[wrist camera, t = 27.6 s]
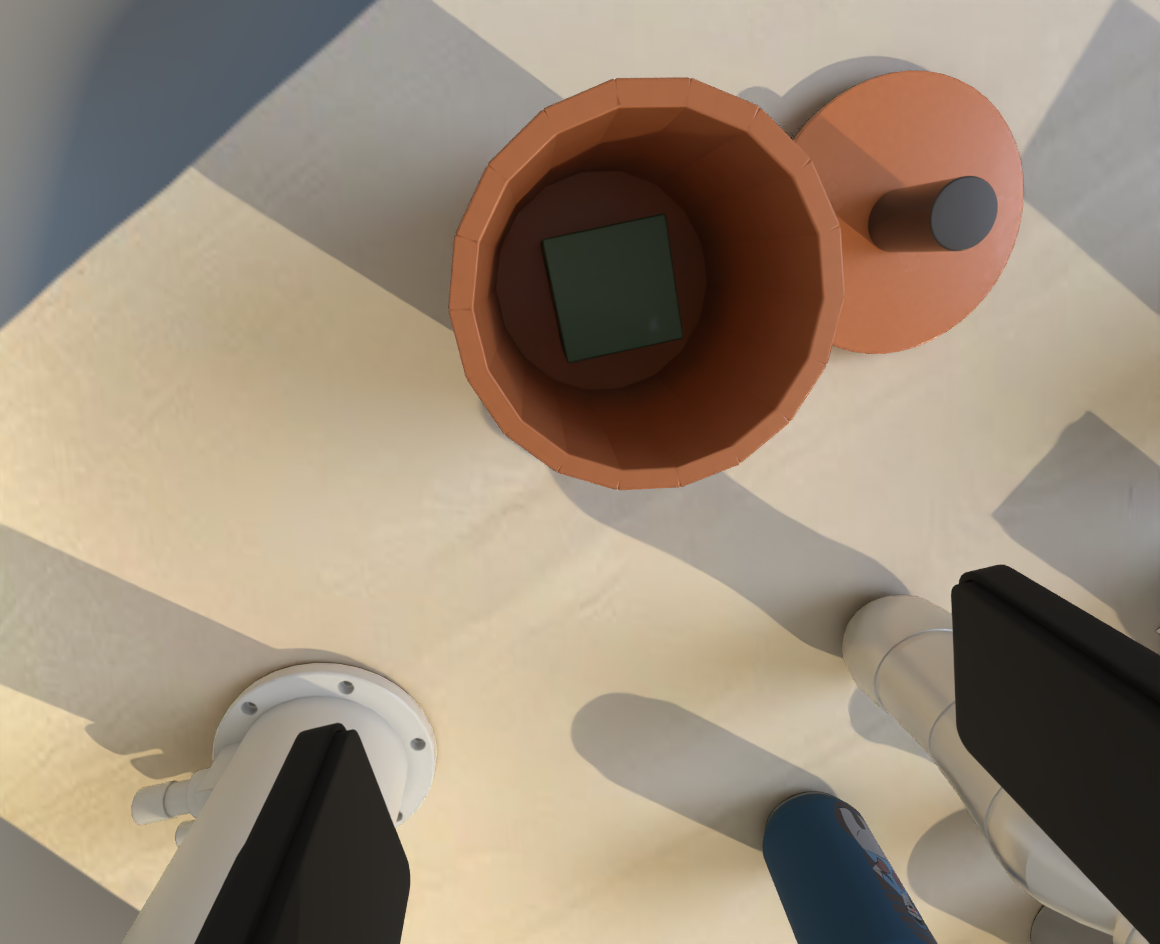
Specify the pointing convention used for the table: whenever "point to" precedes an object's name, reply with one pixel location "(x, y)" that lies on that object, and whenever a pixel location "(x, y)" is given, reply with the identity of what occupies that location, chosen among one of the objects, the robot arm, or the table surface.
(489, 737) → the table surface
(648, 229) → the cube
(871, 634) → the silver metal bottle
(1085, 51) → the table surface
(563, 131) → the orange canister
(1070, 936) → the coffee mug
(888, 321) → the pot lid
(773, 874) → the soda can
